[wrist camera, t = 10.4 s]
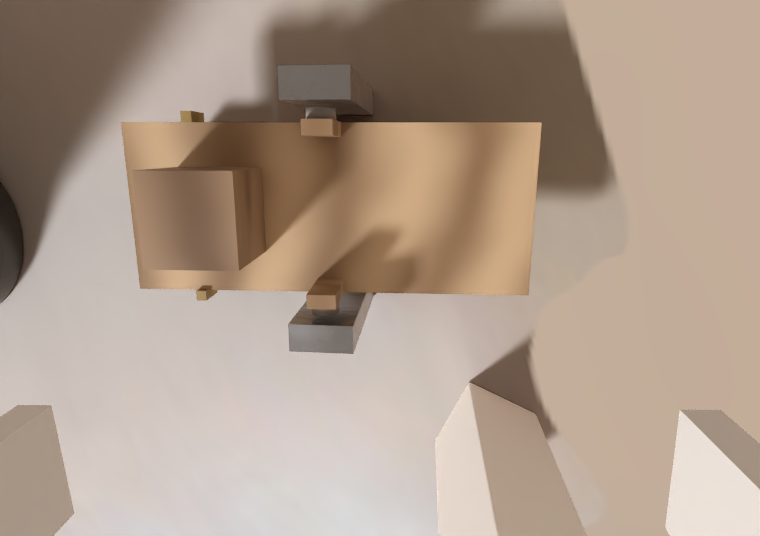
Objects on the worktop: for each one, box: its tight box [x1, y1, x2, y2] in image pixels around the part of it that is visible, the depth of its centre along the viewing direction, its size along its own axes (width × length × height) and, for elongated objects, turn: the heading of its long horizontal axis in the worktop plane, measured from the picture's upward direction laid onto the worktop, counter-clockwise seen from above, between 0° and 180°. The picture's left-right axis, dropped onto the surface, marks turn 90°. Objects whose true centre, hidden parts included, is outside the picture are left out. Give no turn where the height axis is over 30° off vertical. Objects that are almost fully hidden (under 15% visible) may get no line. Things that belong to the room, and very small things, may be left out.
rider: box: [132, 167, 266, 271], centre depth 27 cm, size 5×5×5 cm
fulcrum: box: [277, 65, 373, 354], centre depth 31 cm, size 4×15×11 cm, turn 1°
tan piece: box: [121, 107, 542, 316], centre depth 30 cm, size 24×11×9 cm, turn 90°
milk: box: [435, 382, 587, 536], centre depth 29 cm, size 6×6×22 cm
